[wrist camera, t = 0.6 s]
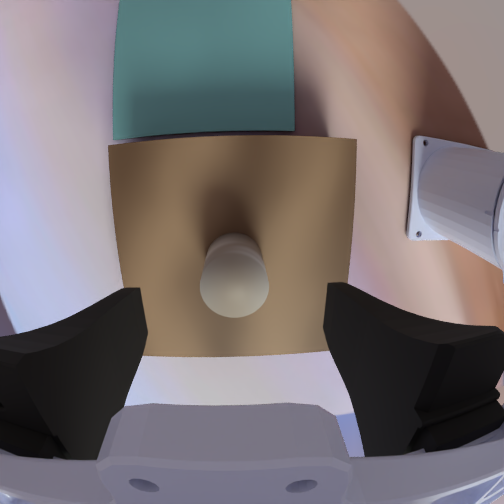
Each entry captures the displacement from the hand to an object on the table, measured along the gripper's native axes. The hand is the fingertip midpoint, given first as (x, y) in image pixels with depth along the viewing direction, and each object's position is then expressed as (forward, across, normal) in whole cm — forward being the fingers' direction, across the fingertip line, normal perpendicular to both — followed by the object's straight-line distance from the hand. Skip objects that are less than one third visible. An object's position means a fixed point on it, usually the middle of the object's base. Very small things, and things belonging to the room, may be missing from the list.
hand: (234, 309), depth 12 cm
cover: (+10, 0, 0) cm, 10 cm away
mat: (+10, +2, -13) cm, 17 cm away
